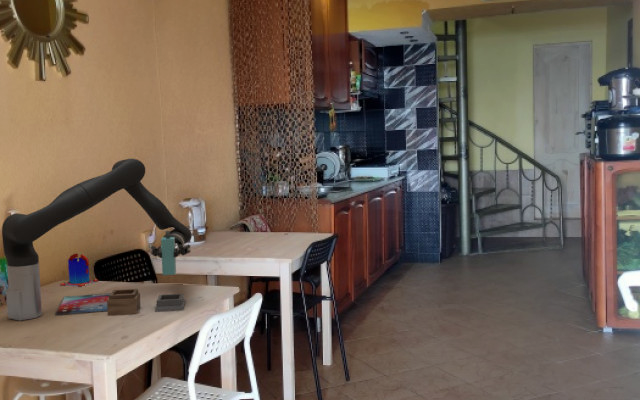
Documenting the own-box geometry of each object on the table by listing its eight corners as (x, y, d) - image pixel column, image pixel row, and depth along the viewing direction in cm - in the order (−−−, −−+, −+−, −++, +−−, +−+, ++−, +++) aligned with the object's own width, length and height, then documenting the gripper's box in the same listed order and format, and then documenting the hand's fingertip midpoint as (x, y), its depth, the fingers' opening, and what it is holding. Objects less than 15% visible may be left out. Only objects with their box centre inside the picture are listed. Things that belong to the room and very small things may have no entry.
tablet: (119, 294, 235) (119, 292, 235) (116, 312, 211) (116, 309, 211) (63, 298, 230) (63, 296, 230) (54, 317, 206) (54, 314, 206)
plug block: (174, 274, 212) (173, 231, 210) (162, 275, 211) (160, 232, 210) (176, 272, 216) (174, 230, 214) (163, 272, 215) (162, 230, 214)
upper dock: (136, 313, 207) (135, 295, 207) (107, 315, 206) (106, 296, 206) (140, 306, 216) (139, 288, 216) (113, 307, 215) (112, 289, 214)
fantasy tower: (101, 280, 256) (99, 251, 254) (82, 287, 244) (81, 256, 243) (76, 279, 259) (74, 250, 258) (56, 286, 248) (54, 255, 246)
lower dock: (183, 310, 211) (182, 300, 210) (155, 311, 210) (154, 301, 209) (185, 303, 220) (184, 293, 219) (158, 304, 219) (158, 294, 218)
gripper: (152, 235, 226) (145, 244, 209) (192, 234, 227) (189, 242, 210) (152, 256, 226) (146, 266, 209) (193, 254, 228) (190, 265, 211)
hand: (167, 254), depth 210 cm, fingers closed on plug block, 4 cm apart
